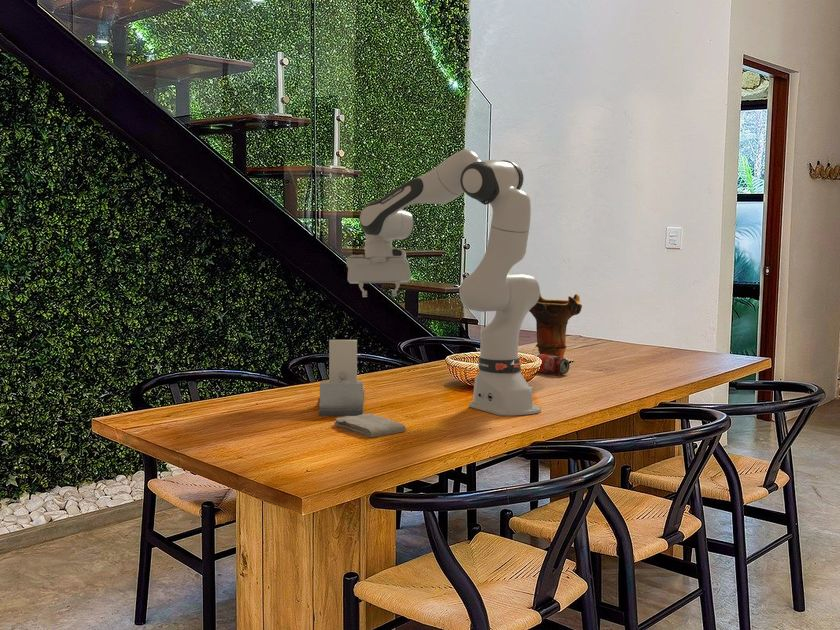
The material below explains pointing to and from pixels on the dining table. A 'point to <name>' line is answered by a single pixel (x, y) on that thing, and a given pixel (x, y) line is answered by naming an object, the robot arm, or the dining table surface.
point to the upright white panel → (342, 360)
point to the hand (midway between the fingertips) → (379, 296)
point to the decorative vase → (554, 323)
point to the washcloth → (369, 425)
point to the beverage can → (553, 364)
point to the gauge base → (341, 398)
